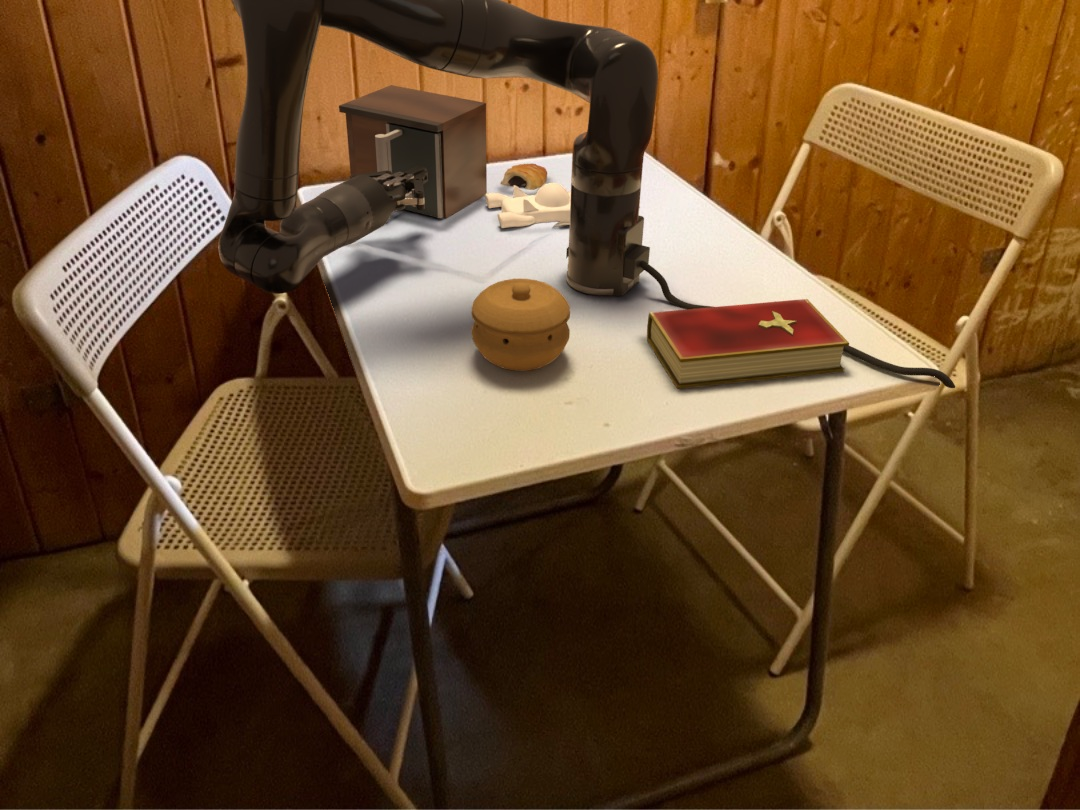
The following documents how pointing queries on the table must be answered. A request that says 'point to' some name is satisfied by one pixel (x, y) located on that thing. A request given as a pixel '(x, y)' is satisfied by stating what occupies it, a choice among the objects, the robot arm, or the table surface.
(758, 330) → the hardcover book
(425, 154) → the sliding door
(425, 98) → the cupboard
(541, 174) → the pastry
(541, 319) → the pot
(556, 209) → the plane toy
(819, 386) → the table surface
